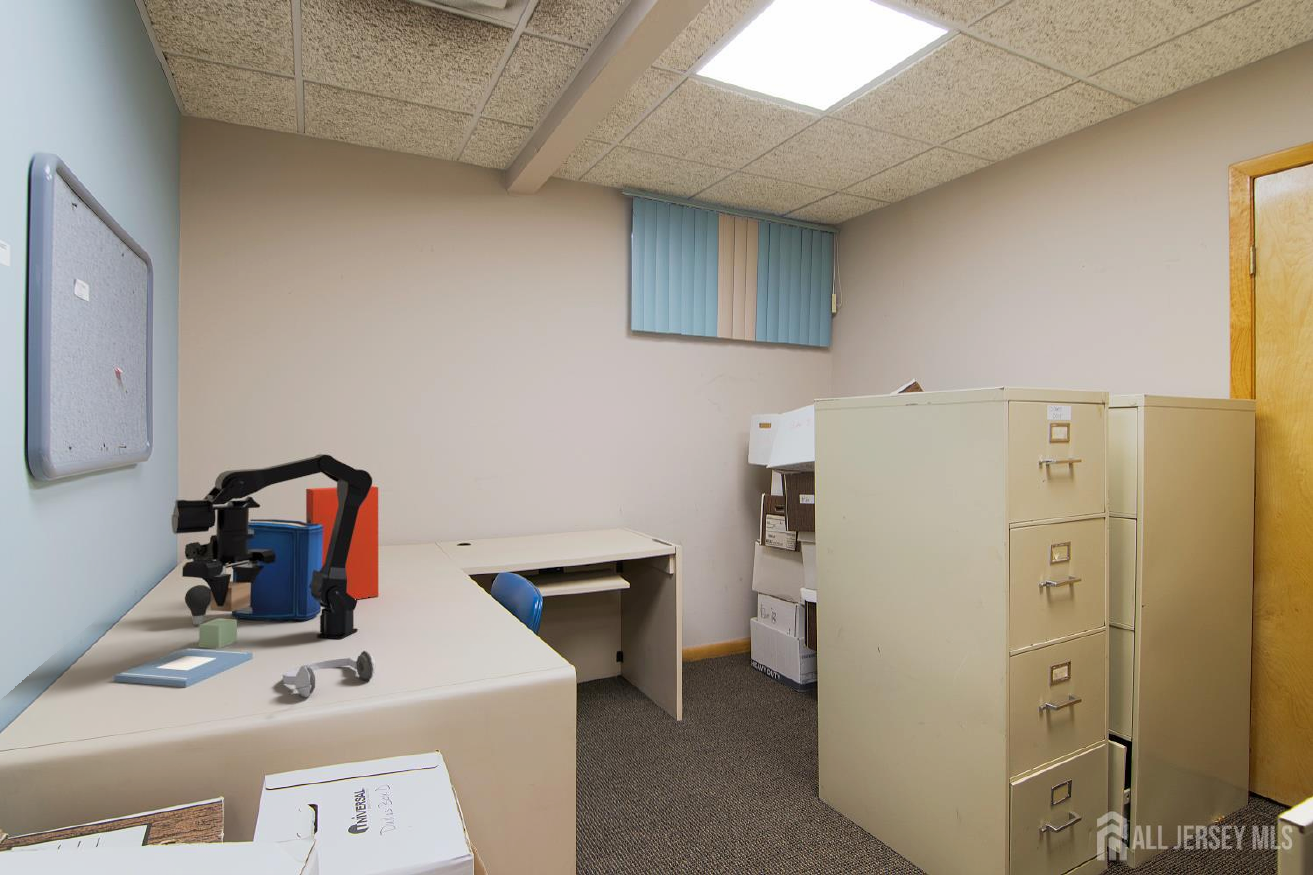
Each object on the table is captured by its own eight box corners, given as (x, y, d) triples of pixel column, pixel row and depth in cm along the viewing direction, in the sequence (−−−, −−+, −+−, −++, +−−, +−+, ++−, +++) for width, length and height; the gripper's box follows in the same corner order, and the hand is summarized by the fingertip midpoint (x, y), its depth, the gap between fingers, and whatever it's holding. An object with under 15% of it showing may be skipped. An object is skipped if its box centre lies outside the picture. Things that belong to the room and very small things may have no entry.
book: (326, 615, 171) (326, 519, 171) (309, 622, 164) (310, 523, 164) (249, 612, 173) (249, 518, 173) (229, 619, 166) (230, 521, 166)
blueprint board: (252, 658, 138) (252, 652, 138) (186, 687, 123) (186, 680, 123) (187, 653, 141) (187, 647, 141) (114, 681, 125) (114, 674, 125)
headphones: (392, 681, 124) (348, 672, 137) (390, 650, 124) (346, 644, 137) (293, 709, 111) (254, 697, 124) (291, 675, 111) (253, 666, 125)
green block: (236, 641, 150) (236, 619, 150) (218, 648, 145) (218, 625, 145) (217, 640, 151) (218, 618, 151) (199, 646, 146) (199, 624, 146)
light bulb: (180, 629, 158) (180, 588, 158) (190, 623, 163) (190, 583, 163) (207, 628, 159) (207, 587, 159) (216, 621, 165) (216, 582, 165)
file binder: (306, 600, 185) (306, 488, 185) (369, 591, 196) (369, 485, 196) (313, 606, 179) (313, 490, 179) (378, 596, 190) (378, 487, 190)
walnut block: (250, 605, 141) (250, 582, 141) (231, 611, 136) (231, 587, 136) (230, 604, 142) (230, 581, 142) (210, 610, 137) (211, 586, 137)
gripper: (235, 523, 150) (233, 591, 150) (159, 533, 131) (157, 611, 131) (278, 525, 148) (276, 594, 148) (207, 536, 129) (205, 615, 129)
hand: (230, 603), depth 139 cm, fingers closed on walnut block, 5 cm apart
